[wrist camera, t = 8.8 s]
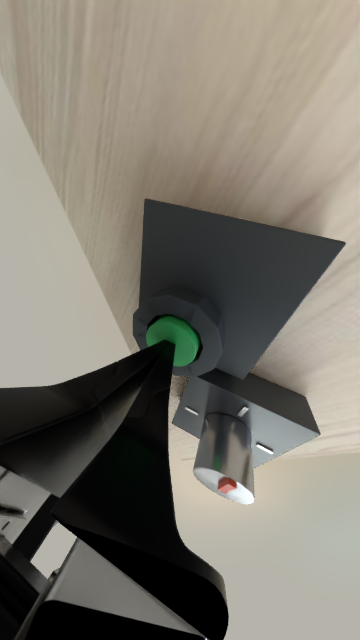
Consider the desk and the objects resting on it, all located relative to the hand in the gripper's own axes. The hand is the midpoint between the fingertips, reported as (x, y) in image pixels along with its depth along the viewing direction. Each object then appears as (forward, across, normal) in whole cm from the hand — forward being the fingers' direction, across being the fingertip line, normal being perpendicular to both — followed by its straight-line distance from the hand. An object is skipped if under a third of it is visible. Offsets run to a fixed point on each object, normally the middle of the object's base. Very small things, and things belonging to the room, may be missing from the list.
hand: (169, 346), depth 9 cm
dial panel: (+4, -7, +8) cm, 12 cm away
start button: (+2, 0, 0) cm, 2 cm away
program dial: (+1, -7, +8) cm, 11 cm away
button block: (+4, -1, -2) cm, 5 cm away
